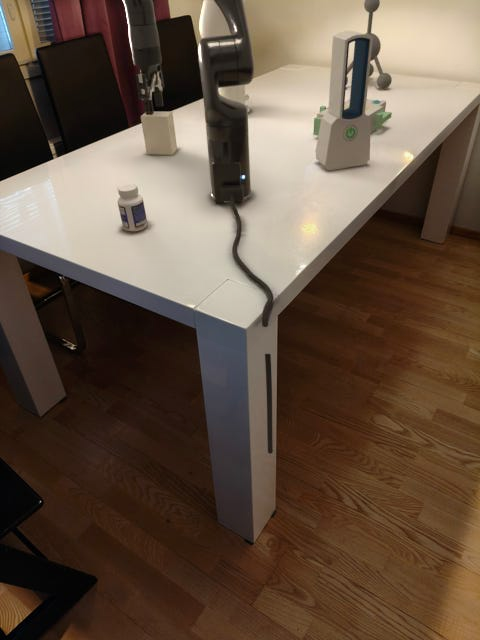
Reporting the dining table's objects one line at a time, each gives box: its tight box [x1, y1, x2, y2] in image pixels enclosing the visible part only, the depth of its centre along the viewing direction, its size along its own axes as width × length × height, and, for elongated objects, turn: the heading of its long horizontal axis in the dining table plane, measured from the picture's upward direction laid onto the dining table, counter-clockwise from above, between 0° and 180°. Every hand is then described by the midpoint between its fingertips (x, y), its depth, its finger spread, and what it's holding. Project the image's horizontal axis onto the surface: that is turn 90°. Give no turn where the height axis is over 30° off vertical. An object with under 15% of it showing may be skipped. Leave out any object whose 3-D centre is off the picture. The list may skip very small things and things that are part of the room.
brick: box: [140, 111, 178, 156], centre depth 140 cm, size 5×8×11 cm, turn 79°
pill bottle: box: [117, 182, 148, 232], centre depth 102 cm, size 5×5×9 cm
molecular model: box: [346, 0, 393, 90], centre depth 184 cm, size 24×22×30 cm
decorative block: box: [313, 98, 393, 136], centre depth 149 cm, size 26×6×20 cm
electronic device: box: [315, 30, 373, 171], centre depth 119 cm, size 12×8×30 cm, turn 105°
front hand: (154, 110), depth 136 cm, fingers open, 8 cm apart
